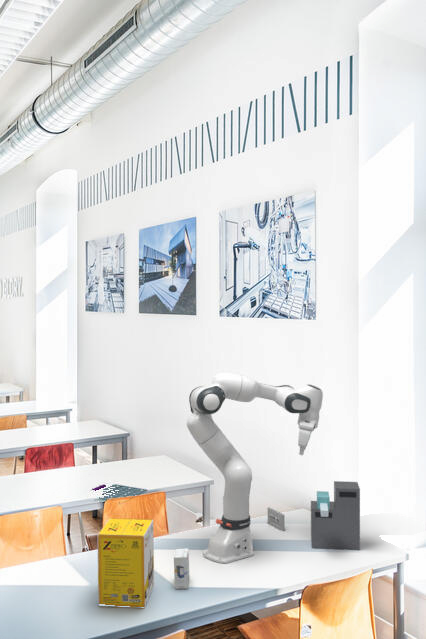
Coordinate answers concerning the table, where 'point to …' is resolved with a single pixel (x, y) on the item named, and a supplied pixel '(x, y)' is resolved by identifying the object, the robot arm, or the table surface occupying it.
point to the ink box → (181, 569)
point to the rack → (338, 520)
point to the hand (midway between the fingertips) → (302, 452)
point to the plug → (323, 502)
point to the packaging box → (125, 562)
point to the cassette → (279, 520)
